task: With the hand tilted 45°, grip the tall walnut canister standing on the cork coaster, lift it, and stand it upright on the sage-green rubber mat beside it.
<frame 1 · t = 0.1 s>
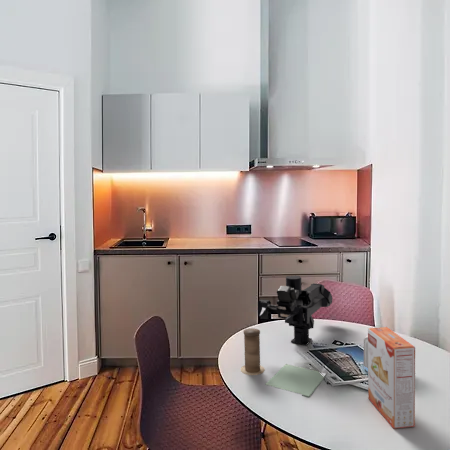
hand: (272, 319, 130), 17 cm above the table, tool horizontal, fingers open, 9 cm apart
mat: (296, 379, 122), on the table
photo printer: (377, 369, 128), on the table
coaster: (252, 370, 129), on the table
cracker box: (389, 413, 103), on the table
canister: (252, 369, 129), resting on coaster
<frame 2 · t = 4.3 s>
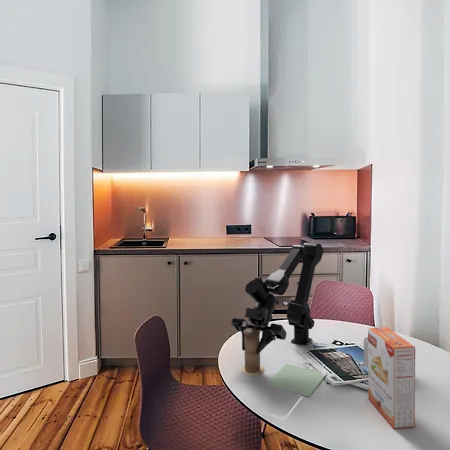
hand: (250, 351, 127), 7 cm above the table, tool tilted 45°, fingers closed on canister, 5 cm apart
canister: (252, 369, 129), resting on coaster, touching gripper
everything else where it was.
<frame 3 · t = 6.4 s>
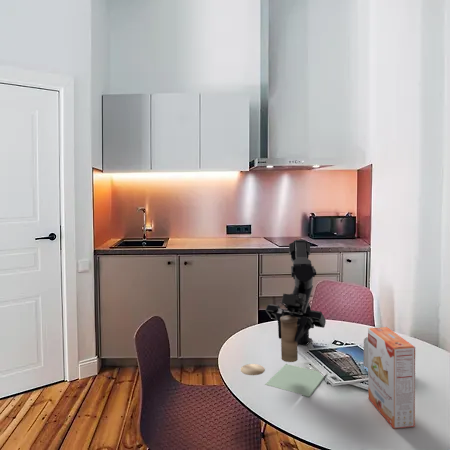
hand: (287, 339, 121), 13 cm above the table, tool tilted 45°, fingers closed on canister, 5 cm apart
canister: (289, 358, 122), point 6 cm above the table, touching gripper
everything else where it was.
when the fingers open (8 cm above the table, at t = 8.5 s): canister drops 1 cm, resting on mat.
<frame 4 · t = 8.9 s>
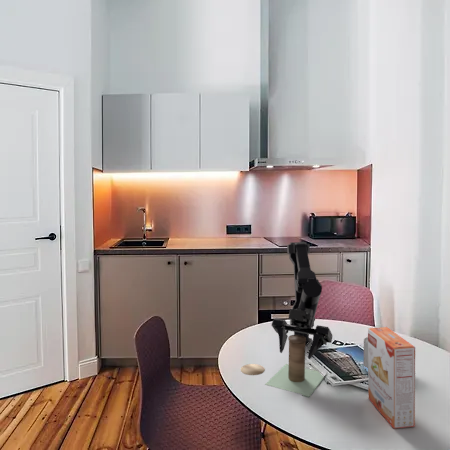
hand: (294, 355, 120), 8 cm above the table, tool tilted 45°, fingers open, 9 cm apart
canister: (296, 378, 122), resting on mat
everything else where it was.
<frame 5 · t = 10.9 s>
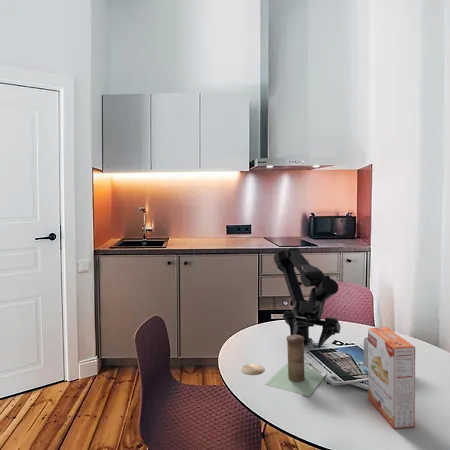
hand: (304, 345, 128), 8 cm above the table, tool tilted 45°, fingers open, 9 cm apart
nothing on the table moved.
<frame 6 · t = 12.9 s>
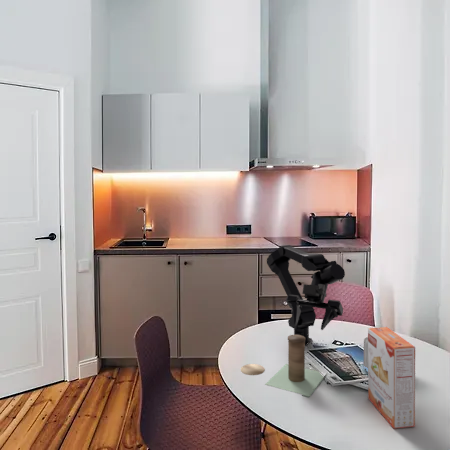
hand: (308, 327, 130), 14 cm above the table, tool tilted 45°, fingers open, 9 cm apart
nothing on the table moved.
at the end: canister inside the target area on the mat (0.1 cm from its centre), point 0.5 cm above the mat's base; canister tilted 1°; the gripper is holding nothing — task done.
